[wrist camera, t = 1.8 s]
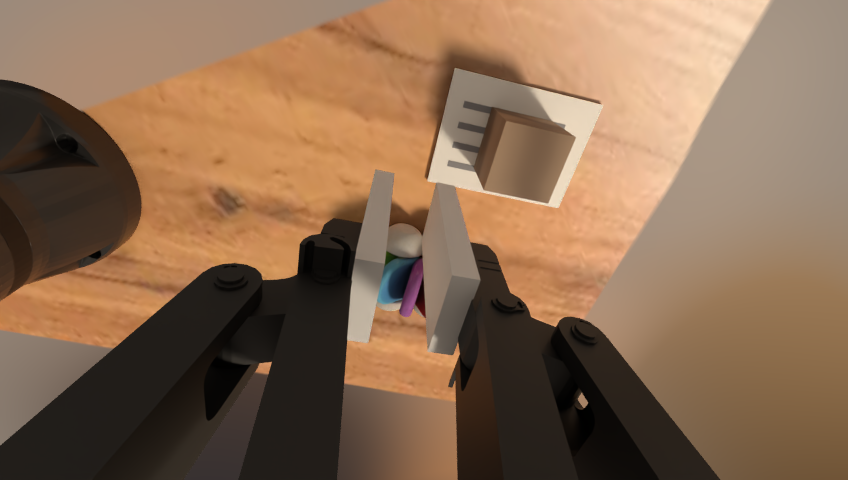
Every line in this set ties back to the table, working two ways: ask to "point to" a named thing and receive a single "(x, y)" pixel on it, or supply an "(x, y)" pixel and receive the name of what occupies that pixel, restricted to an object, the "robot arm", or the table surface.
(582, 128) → the letter
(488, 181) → the walnut block
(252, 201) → the table surface
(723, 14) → the table surface
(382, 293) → the rainbow petal toy
